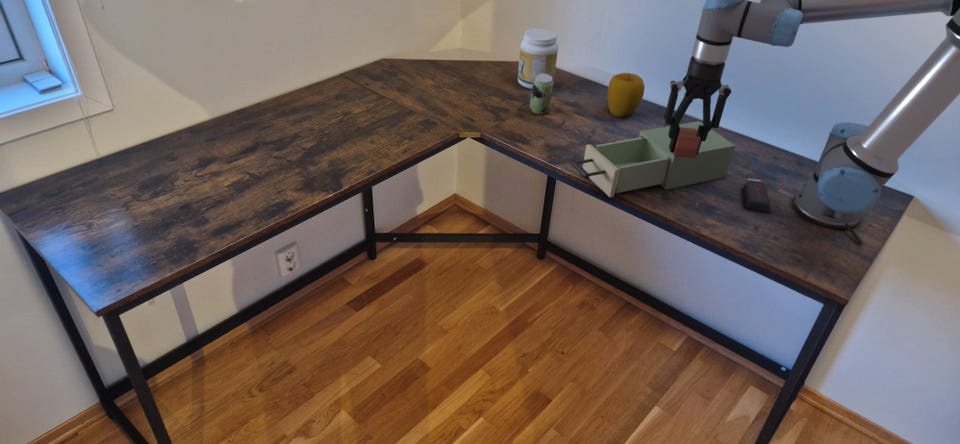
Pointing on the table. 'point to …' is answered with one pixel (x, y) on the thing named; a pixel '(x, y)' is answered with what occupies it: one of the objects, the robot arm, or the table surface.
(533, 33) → the supplement tub
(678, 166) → the cabinet
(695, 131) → the block
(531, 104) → the beverage can
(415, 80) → the table surface
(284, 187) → the table surface
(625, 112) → the apple
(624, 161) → the drawer
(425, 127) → the table surface
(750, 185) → the usb drive
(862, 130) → the robot arm
